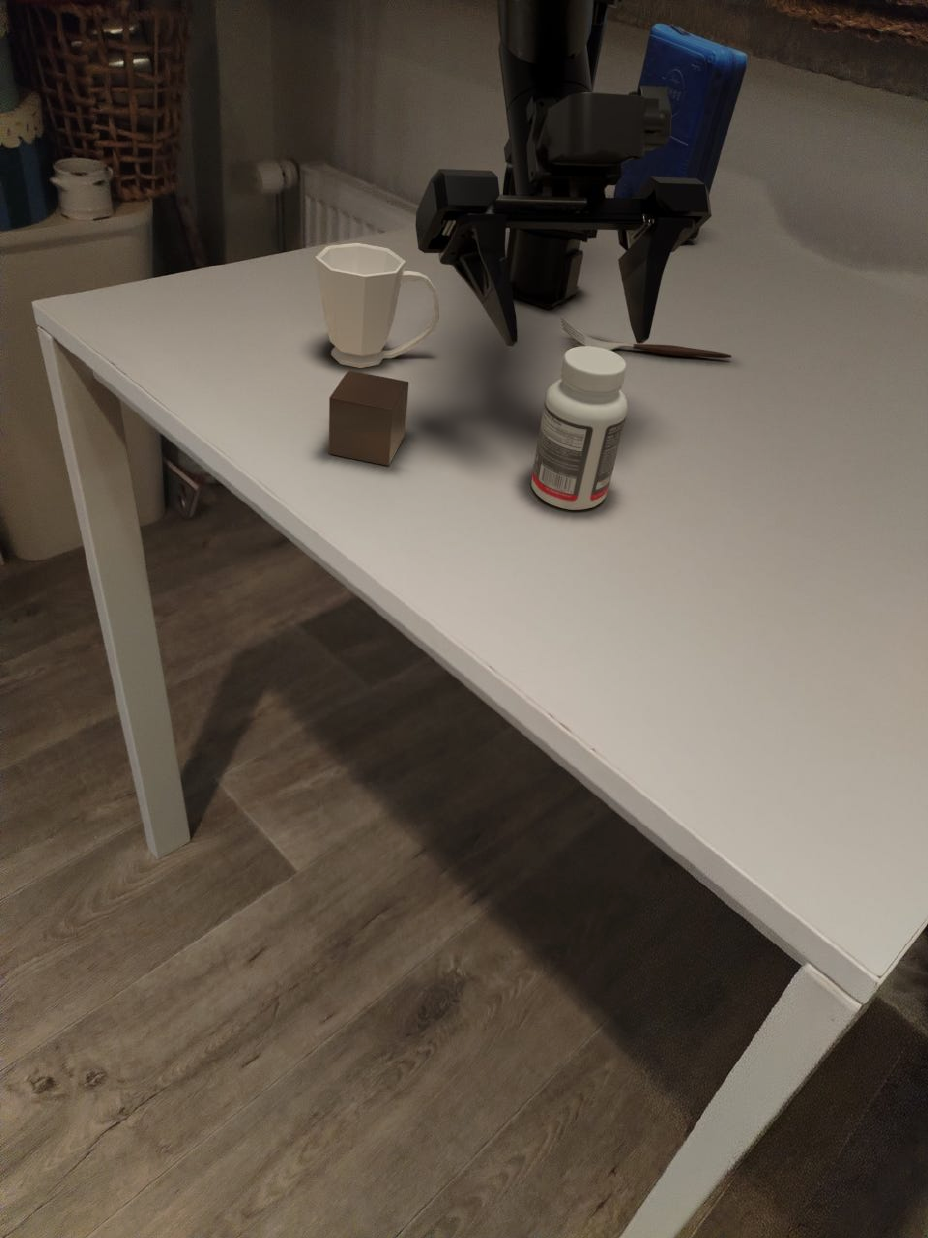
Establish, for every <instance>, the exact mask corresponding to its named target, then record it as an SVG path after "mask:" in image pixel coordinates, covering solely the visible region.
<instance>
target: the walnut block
mask: <svg viewBox="0 0 928 1238" xmlns="http://www.w3.org/2000/svg"><path fill="white" fill-rule="evenodd" d="M408 393H409V382H408V381H405V380H400V379H396V378H389V377H385V376H381V375H380V376H379V375H374V374H370V373H364V372H360V371H355V370H350V369H349V370H348V371H347V372H346V374H345V375H343V378H342V379H341V380H340V382H339V383H338V385H337V386H336V388H335V389H334V390H333V392H332V393H331V394H330V396H329V398H328V399H329V400H328V454H329V455H332V456H338V457H341V458H348V459H353V460H357V461H362V462H367V463H372V464H375V465H382V466H386V467H389V466H390V465H391V462H392V461H393V459H394V457H395V455H396V454H397V451H398V450H399V448H400V446H401V444H402V442H403V440H404V438H405V435H406V421H407V411H408V409H407V407H408Z"/></svg>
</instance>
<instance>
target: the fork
mask: <svg viewBox="0 0 928 1238" xmlns="http://www.w3.org/2000/svg"><path fill="white" fill-rule="evenodd" d="M560 320H561V321H560V322H561V323H562V324H561V326H562V330H563V331H564V332H566V333H567V334H568V335H569V336H570V337H571V338H572V339H573V340H575V341H576V342H577V343H579V344H580V345H581V346H591V347H598V348H603V349H607V350H610V351H614V350H616V349H620V348H627V349H633V350H639V351H643V352H650V353H656V354H661V355H668V356H676V357H677V356H678V357H679V356H680V357H699V358H712V359H713V358H714V359H730V358H732V355H731V354H728V353H723V352H719V351H713V350H705V349H698V348H692V347H687V346H686V347H685V346H680V345H670V344H652V343H651V344H648V343H646V344H645V343H643V344H638V343H625V342H624V343H623V342H621V343H620V342H611V341H610V342H609V341H604V340H598V339H595V338H592V337H590V336H588V335H586V334H584V333H583V332H581V331H580V330H578V329H577V328H576V327H575V326H573V324H571V323H569V321H567V320H566V319H565V318H564V317H563V316H560Z"/></svg>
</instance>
